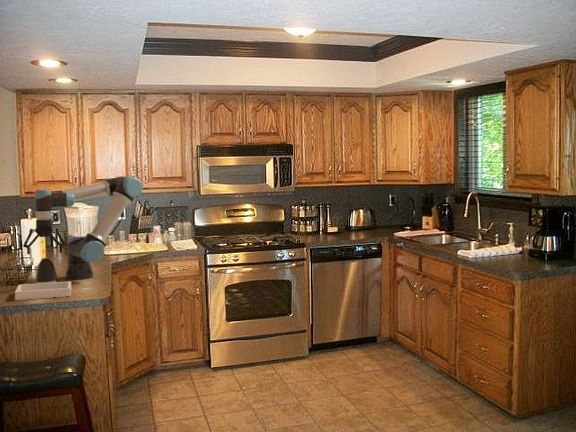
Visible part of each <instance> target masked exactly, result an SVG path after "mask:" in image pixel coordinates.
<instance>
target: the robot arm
mask: <svg viewBox="0 0 576 432" xmlns="http://www.w3.org/2000/svg"><path fill="white" fill-rule="evenodd" d="M142 193H143V184H142V182H141V180H140V179H139V178H137V177H136V176H123V175H122V176H117V177H114V178H109V179H105V180H102V182H98V183H93V184H88V185H83V186H77V187H72V188H65V189H62V190H61V189H60V190H57V191H56V190H55V191H51V189H49V188H48V189H47V188H46V189H45V188H44V189H42V188H41V189H36V190H35V193H34V194H35V195H34V201H35V219H36V220H35V229H34V228H29V231H28V232H29V233H28V236H27V237H26V239H25V241H24V242H23V248H26V253H27V255H29V261H30V262H32V260H33V258H32V256H33V254H32V253H33V252H32V251H33V249H32V247H31V246H32V245H33V244H34V243H35V242H36V240H38V239H39V238H48V237H49V238H50V239H51V240H52V241H53V242H55V244H56V245H57V260H61V254H62V252H63V247H65V246H66V247H67V249H66V251H67V267H66V271H65V274H64V276H65V277H64V278H65V280H74V281H75V280H85V279H90V278H93V277H94V271H93V267H92V266H91V263H96V262H98V261H100V260H101V259H102V258H103V257H104V255H105V247H106V245H107V238H108V236H109V235H110V233H111V231H112V230H113V229H114V227H115V225H116V223H117V222H118V220H119V219H120V217H121V216H122V214H123V212H124V211H125V209H126V207H127V206H128V205H130V204H132V202H133V201H134V200H135V198H138V197H139V196H140V195H142ZM104 196H105V197H106V198H108V197H112V198H111V201H110V202H109V204H108V205H107V207H106V209H105V210H104V211H103V213H102V215H101V216H100V218H99V220H98V221H97V223H96V224H95V226H94V228H93V229H92V231H91V232H88V233H87V234H86V235H85V236H84V235H83V236H74V237H68V238H67V241H66V242H67V243H66V242H65V240H64V239H63V236H62V235H61V234H60V231H59V227H56V228H53V225H52V224H53V222H52V221H53V220H52V216H53V215H52V208H68V207H70V208H71V207H72V206H74V204H75V202H78V201H84V200H89V199H95V198H98V197H104ZM53 232H54V233H55V234H56V235H57V237H58V239H59V240H60V241H59V240H58V239H57V238H56V237H55V236H54V234H52V233H53ZM34 233H36V236H35V237H34V238H33V239H32V240H31V241H30V243H29V240H30V239H31V236H32V234H34ZM28 243H29V244H28Z"/></svg>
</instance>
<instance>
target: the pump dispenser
mask: <svg viewBox="0 0 576 432" xmlns="http://www.w3.org/2000/svg"><path fill="white" fill-rule="evenodd" d="M57 280H58V275H57V270H56V268H55V265H54V263H53V261H52V260H51V259H50V258H48V257H43V258H41V259H40V262H39V263H38V267H37V269H36V275H35V281H36V284H38V283H53V282H57Z"/></svg>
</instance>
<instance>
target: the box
mask: <svg viewBox="0 0 576 432" xmlns="http://www.w3.org/2000/svg"><path fill="white" fill-rule="evenodd" d="M66 296H69V297H71V296H72V281H71V280H70V281H58V282H57V281H56V282H53V283H38V284H37V283H24V284H18V286H17V287H16V289H15V291H14V300H15V301H25V300H26V301H29V300H41V298H42V299H52V298H53V297H56V298H67V297H66ZM28 299H29V300H28Z"/></svg>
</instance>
